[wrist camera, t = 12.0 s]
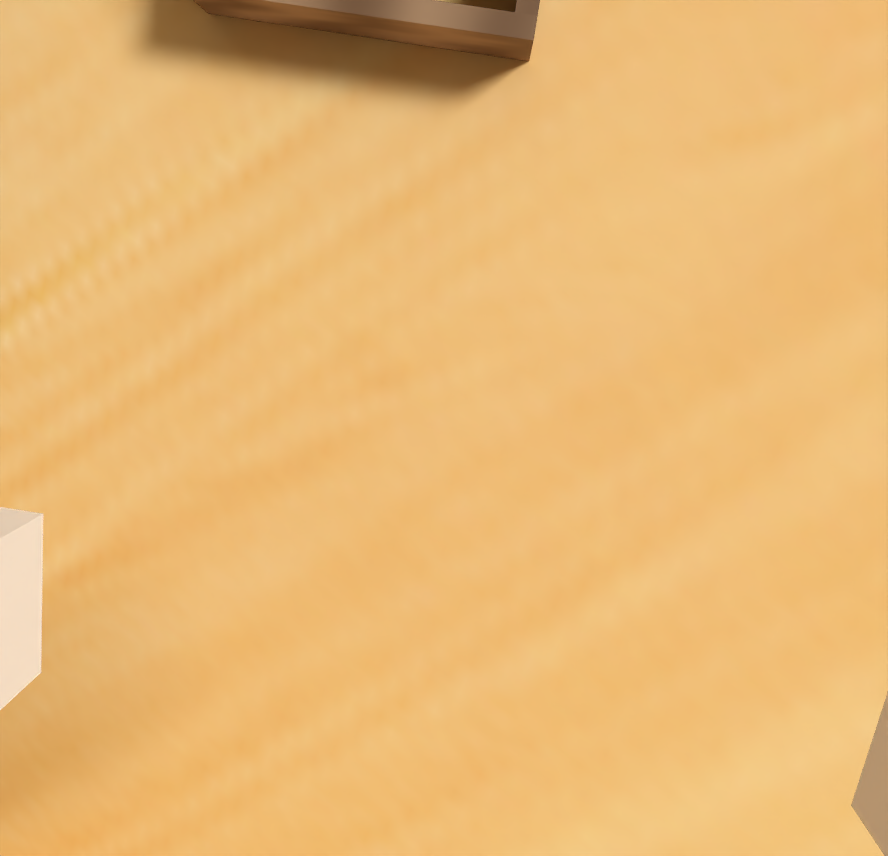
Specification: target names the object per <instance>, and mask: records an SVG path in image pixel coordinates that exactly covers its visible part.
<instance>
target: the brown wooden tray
mask: <svg viewBox="0 0 888 856" xmlns="http://www.w3.org/2000/svg"><path fill="white" fill-rule="evenodd" d="M194 1H195V2H196V3H197V4H198V5H199V6H201V7H202V8H203V9H204V10H205V11H206V12H207V13H209V14H215V15H222V16H228V17H235V18H242V19H249V20H255V21H262V22H269V23H276V24H282V25H289V26H296V27H302V28H309V29H316V30H323V31H329V32H336V33H343V34H350V35H356V36H363V37H370V38H376V39H383V40H390V41H397V42H403V43H410V44H417V45H424V46H430V47H437V48H444V49H450V50H457V51H464V52H471V53H477V54H484V55H491V56H498V57H504V58H511V59H518V60H524V61H529V59H530V54H531V49H532V45H533V40H534V34H535V28H536V21H537V15H538V9H539V3H540V0H517V2H516V9H515V12H510V11H503V10H496V9H490V8H483V7H476V6H469V5H462V4H456V3H449V2H442V1H435V0H194Z"/></svg>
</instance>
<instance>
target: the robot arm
mask: <svg viewBox="0 0 888 856" xmlns="http://www.w3.org/2000/svg"><path fill="white" fill-rule="evenodd" d="M42 565H43V514H41V513H35V512H29V511H22V510H16V509H10V508H3V507H0V710H1V709H2V708H3V707H4V706H5V705H6V704H7V703H9V702H10V701H11V700H12V699H13V698H14V697H15V696H16V695H17V694H18V693H19V692H20V691H22V690H23V689H24V688H25V687H26V686H27V685H28V684H29V683H30V682H31V681H32V680H33V679H35V678H36V677H37V676H38V675H39V674H40V673H41V642H42ZM851 806H852V807H853V809H854V810H855V812H856V813H857V815H858V816H859V818H860V819H861V821H862V822H863V824H864V825H865V827H866V828H867V830H868V831H869V833H870V834H871V836H872V837H873V839H874V840H875V842H876V843H877V845H878V846H879V848H880V849H881V851H882V852H883V854H884V855H885V856H888V693H887V696H886V699H885V702H884V705H883V709H882V712H881V715H880V718H879V721H878V724H877V727H876V730H875V733H874V736H873V739H872V742H871V746H870V749H869V752H868V755H867V758H866V761H865V764H864V767H863V770H862V773H861V776H860V780H859V783H858V786H857V789H856V792H855V795H854V798H853V801H852V804H851Z"/></svg>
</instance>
